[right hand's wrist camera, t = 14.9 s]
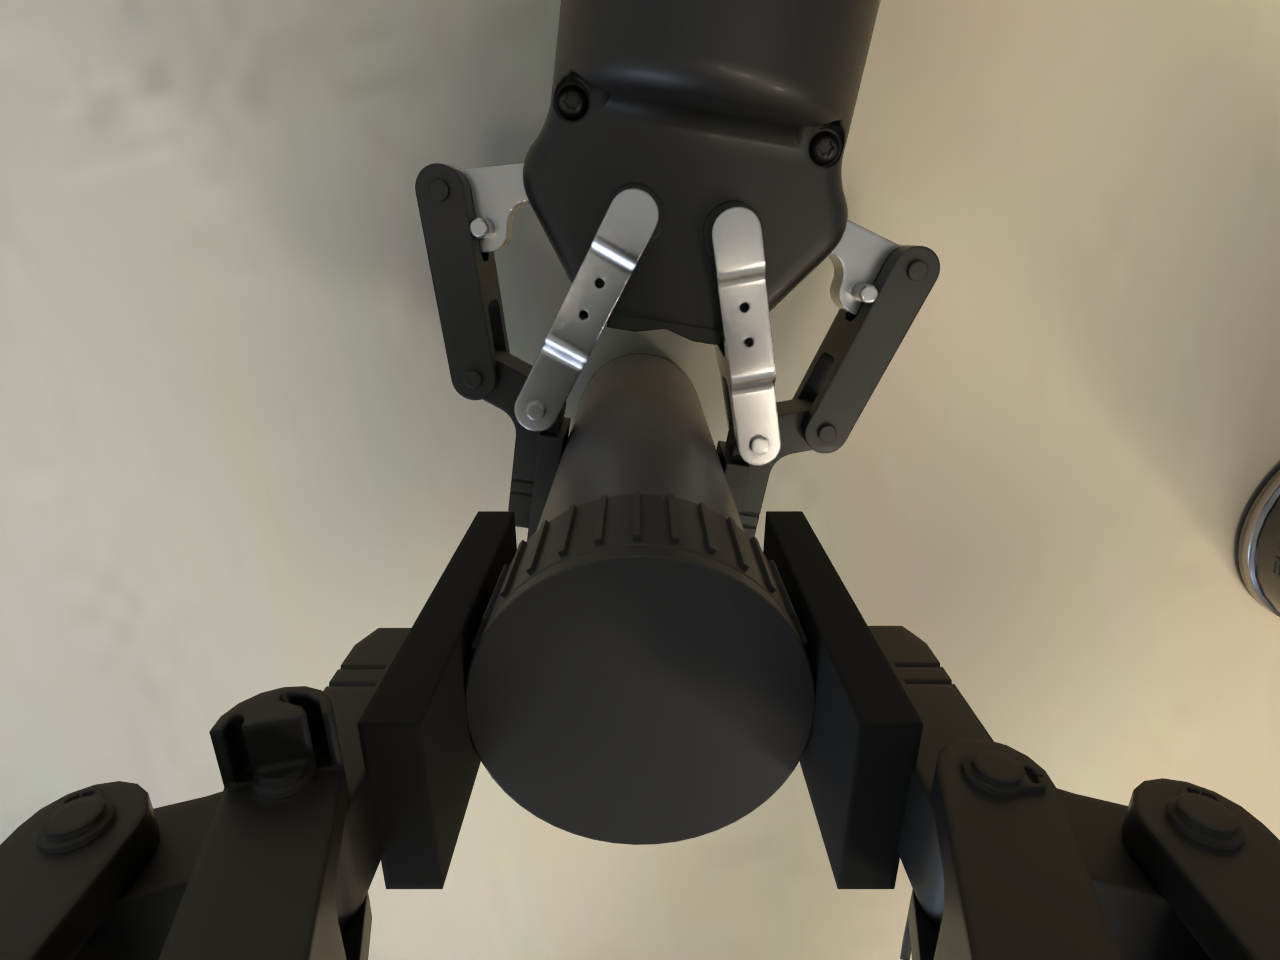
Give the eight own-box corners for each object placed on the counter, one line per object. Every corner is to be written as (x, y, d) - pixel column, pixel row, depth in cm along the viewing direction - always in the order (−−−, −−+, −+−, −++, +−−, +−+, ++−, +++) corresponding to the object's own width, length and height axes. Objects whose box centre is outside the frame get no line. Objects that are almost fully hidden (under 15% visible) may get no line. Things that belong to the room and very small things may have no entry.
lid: (761, 457, 11) (791, 514, 9) (807, 716, 13) (843, 818, 11) (451, 524, 12) (407, 594, 10) (539, 766, 14) (518, 873, 11)
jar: (686, 341, 26) (763, 529, 10) (709, 455, 28) (811, 783, 11) (566, 369, 26) (448, 595, 10) (597, 480, 28) (537, 832, 12)
